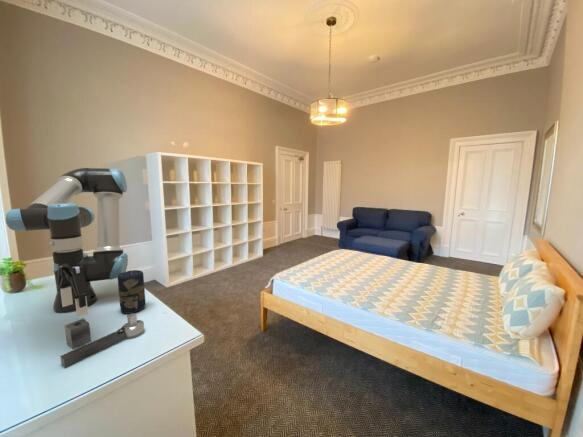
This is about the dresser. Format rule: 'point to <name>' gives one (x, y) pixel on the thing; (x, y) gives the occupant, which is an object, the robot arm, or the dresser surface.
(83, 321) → the socket
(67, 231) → the robot arm
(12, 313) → the dresser surface
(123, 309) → the canister
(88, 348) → the ratchet
